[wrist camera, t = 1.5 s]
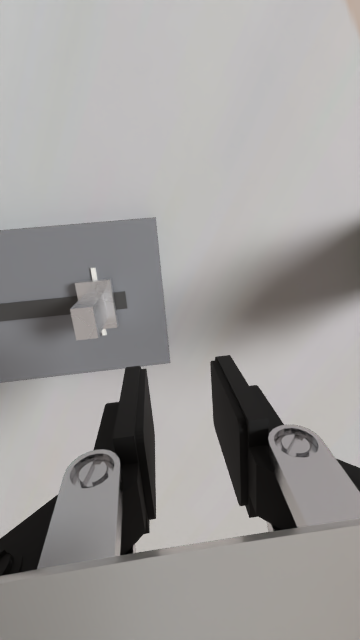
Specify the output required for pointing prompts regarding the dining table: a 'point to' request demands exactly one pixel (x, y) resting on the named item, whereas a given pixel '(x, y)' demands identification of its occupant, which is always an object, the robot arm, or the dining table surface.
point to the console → (60, 295)
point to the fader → (93, 308)
